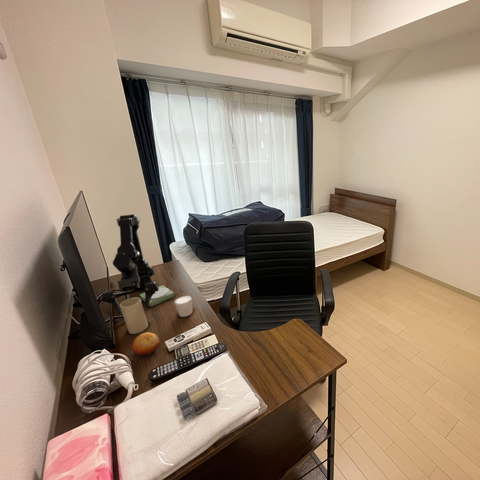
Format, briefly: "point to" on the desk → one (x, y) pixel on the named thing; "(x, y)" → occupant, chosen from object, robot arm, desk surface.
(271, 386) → the desk surface
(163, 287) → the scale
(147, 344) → the fruit
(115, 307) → the robot arm
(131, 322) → the cup
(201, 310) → the desk surface
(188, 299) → the white cylinder
